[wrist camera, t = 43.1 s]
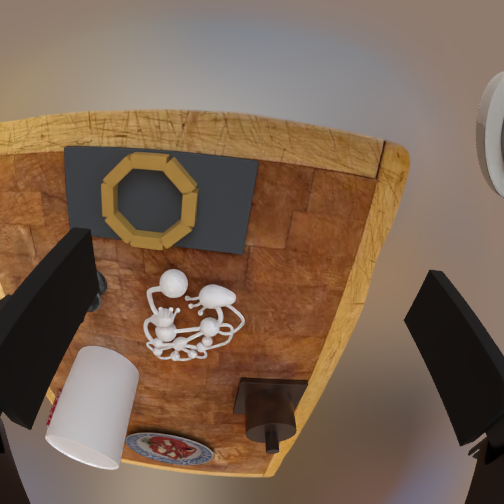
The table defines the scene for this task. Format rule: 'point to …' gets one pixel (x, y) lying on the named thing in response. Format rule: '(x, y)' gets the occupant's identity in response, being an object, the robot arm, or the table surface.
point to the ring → (180, 181)
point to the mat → (163, 195)
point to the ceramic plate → (169, 448)
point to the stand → (269, 409)
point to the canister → (95, 408)
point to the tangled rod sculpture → (209, 296)
